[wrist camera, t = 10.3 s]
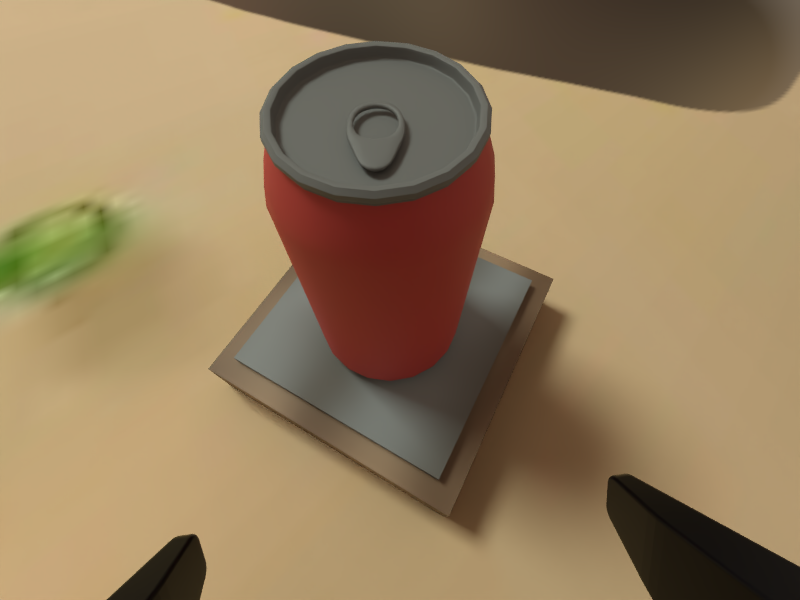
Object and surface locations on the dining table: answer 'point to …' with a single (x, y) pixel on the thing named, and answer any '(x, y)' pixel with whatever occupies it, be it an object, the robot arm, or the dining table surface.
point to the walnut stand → (392, 400)
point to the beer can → (381, 197)
